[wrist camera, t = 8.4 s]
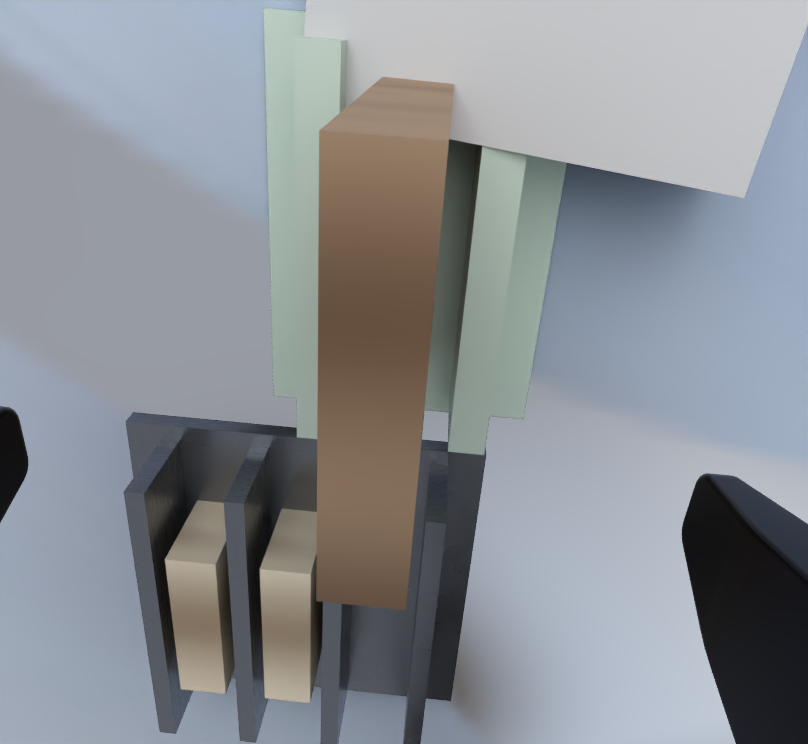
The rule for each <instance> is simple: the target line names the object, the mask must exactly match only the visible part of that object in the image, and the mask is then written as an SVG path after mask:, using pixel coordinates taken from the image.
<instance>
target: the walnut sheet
mask: <svg viewBox="0 0 808 744" xmlns="http://www.w3.org/2000/svg"><path fill="white" fill-rule="evenodd" d="M453 92H454V84H449V83H439V82H430V81H420V80H410V79H401V78H391V77H382V78H380V79H379V80H378V81H377V82H376V83H375V84H373V85H372V86H371V87H370V88H369V89H367V90H366V91H365V92H364V93H363V94H362V95H360V96H359V97H358V98H357V99H356V100H355V101H353V102H352V103H351V104H350V105H349V106H347V107H346V108H345V109H344V110H343V111H342V112H340V113H339V114H338V115H337V116H336V117H334V118H333V119H332V120H331V121H330V122H329V123H327V124H326V125H325V126H324V127H323V128H322V129H320V130H319V242H318V410H317V577H316V601H321V602H330V603H340V604H350V605H359V606H369V607H379V608H388V609H398V610H406V604H407V593H408V582H409V571H410V561H411V550H412V539H413V528H414V517H415V506H416V495H417V484H418V473H419V463H420V452H421V441H422V430H423V419H424V408H425V397H426V386H427V376H428V365H429V354H430V343H431V332H432V321H433V310H434V299H435V288H436V277H437V266H438V256H439V245H440V234H441V223H442V212H443V201H444V190H445V179H446V168H447V157H448V146H449V135H450V124H451V113H452V103H453Z"/></svg>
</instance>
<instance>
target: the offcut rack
mask: <svg viewBox="0 0 808 744" xmlns="http://www.w3.org/2000/svg"><path fill="white" fill-rule="evenodd" d="M126 427H127V434H128V441H129V448H130V455H131V462H132V470H133V477H134V478H133V480H132V481H131V483H130V484H129V485H128V487H127V488H126V490H125V491H124V496H125V503H126V510H127V516H128V523H129V530H130V536H131V543H132V550H133V556H134V563H135V570H136V576H137V583H138V590H139V596H140V603H141V610H142V616H143V623H144V630H145V636H146V643H147V650H148V656H149V663H150V670H151V676H152V683H153V690H154V696H155V703H156V710H157V716H158V723H159V729H160V732H165V733H174V734H176V732H177V730H178V727H179V725H180V722H181V719H182V717H183V714H184V712H185V709H186V707H187V704H188V702H189V699H190V697H191V694H192V692H193V690H184V689H181V686H180V678H179V670H178V662H177V654H176V646H175V638H174V629H173V621H172V613H171V605H170V597H169V589H168V581H167V573H166V564H165V558H166V557H167V555H168V553H169V551H170V549H171V547H172V546H173V544H174V542H175V540H176V538H177V537H178V535H179V533H180V531H181V529H182V527H183V526H184V524H185V522H186V520H187V518H188V516H189V515H190V513H191V511H192V509H193V507H194V505H195V504H196V502H197V500H200V501H211V502H221V503H224V515H225V530H226V544H227V559H228V574H229V588H230V603H231V617H232V632H233V647H234V661H235V668H234V671H233V674H232V678H236V691H237V705H238V720H239V734H240V741H246V742H256V741H257V737H258V734H259V730H260V727H261V723H262V720H263V716H264V712H265V709H266V705H267V702H268V699H267V698H265V688H264V663H263V639H262V614H261V590H260V567H261V564H262V561H263V559H264V556H265V553H266V550H267V548H268V545H269V542H270V539H271V537H272V534H273V531H274V528H275V526H276V523H277V520H278V518H279V515H280V512H281V509H292V510H302V511H312V512H317V439H309V438H299V437H297V428H292V427H282V426H271V425H260V424H251V423H240V422H229V421H219V420H208V419H197V418H186V417H176V416H166V415H155V414H145V413H134V412H133V413H132V415H131V416H130V417H129V418H128V419H127V421H126ZM485 460H486V447H485V453H484V455H478V454H468V453H457V452H448V442H442V441H430V440H422V441H421V452H420V463H419V473H418V484H417V495H416V506H415V517H414V528H413V539H412V550H411V561H410V571H409V582H408V593H407V604H406V610H398V609H388V608H379V607H369V606H359V605H350V604H340V603H330V602H323V630H322V651H321V655H320V660H319V664H318V669H317V674H316V678H315V683H314V686H316V687H322V694H321V744H338V742H339V736H340V730H341V724H342V718H343V712H344V706H345V700H346V694H347V690H354V691H363V692H372V693H382V694H391V695H400V696H407V700H406V713H405V726H404V739H403V744H420V742H421V734H422V726H423V717H424V709H425V700H426V698H428V699H438V700H447V701H451V695H452V688H453V681H454V674H455V667H456V660H457V654H458V646H459V640H460V633H461V626H462V619H463V611H464V604H465V598H466V591H467V584H468V578H469V570H470V564H471V557H472V550H473V543H474V536H475V529H476V522H477V515H478V508H479V501H480V494H481V488H482V481H483V474H484V467H485Z"/></svg>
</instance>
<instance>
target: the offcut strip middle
mask: <svg viewBox="0 0 808 744" xmlns="http://www.w3.org/2000/svg"><path fill="white" fill-rule="evenodd" d="M316 577H317V512H312V511H302V510H292V509H281V512H280V515H279V518H278V520H277V523H276V526H275V528H274V531H273V534H272V537H271V539H270V542H269V545H268V548H267V550H266V553H265V556H264V559H263V561H262V564H261V567H260V590H261V614H262V639H263V663H264V688H265V698H267V699H277V700H286V701H295V702H305V703H310V701H311V696H312V692H313V687H314V683H315V678H316V674H317V669H318V664H319V660H320V655H321V651H322V630H323V602H321V601H316Z"/></svg>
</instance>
